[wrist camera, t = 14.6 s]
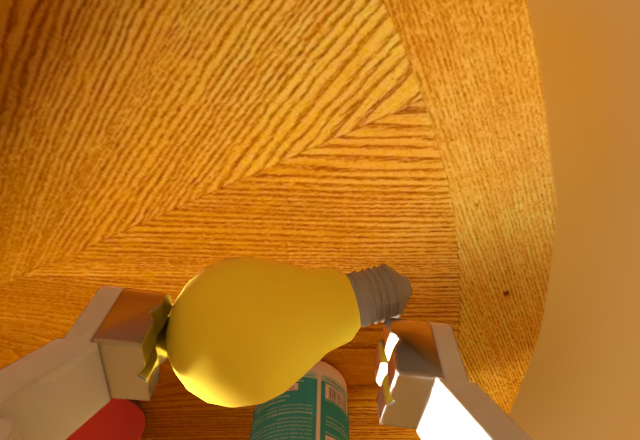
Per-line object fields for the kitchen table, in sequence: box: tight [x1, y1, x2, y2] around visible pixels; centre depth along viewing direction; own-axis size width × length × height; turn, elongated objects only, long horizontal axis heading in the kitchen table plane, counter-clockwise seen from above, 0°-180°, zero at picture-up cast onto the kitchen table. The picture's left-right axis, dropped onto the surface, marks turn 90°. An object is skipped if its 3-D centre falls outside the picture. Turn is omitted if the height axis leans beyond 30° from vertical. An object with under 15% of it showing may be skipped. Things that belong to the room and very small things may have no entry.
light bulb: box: [166, 256, 412, 408], centre depth 10 cm, size 3×6×4 cm, turn 97°
